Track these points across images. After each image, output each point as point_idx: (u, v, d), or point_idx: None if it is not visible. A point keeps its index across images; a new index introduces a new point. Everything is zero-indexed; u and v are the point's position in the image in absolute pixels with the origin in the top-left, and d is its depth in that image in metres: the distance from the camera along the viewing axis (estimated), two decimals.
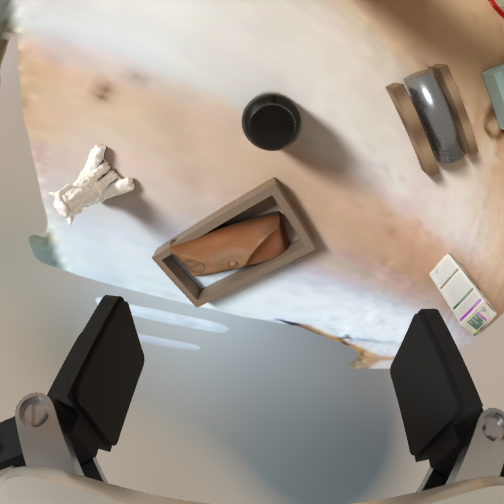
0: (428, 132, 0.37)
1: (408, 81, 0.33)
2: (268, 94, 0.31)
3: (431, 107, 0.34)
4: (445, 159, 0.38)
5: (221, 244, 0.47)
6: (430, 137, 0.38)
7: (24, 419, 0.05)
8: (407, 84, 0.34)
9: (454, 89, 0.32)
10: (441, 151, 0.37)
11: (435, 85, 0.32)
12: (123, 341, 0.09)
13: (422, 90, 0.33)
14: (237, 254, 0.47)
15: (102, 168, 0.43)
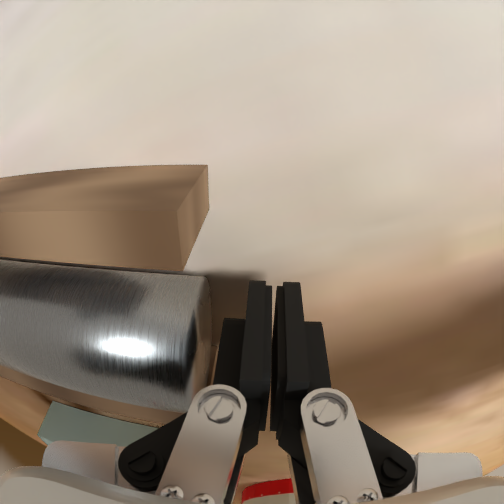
0: None
1: (181, 337, 0.08)
2: None
3: (61, 372, 0.08)
4: None
5: None
6: None
7: (202, 417, 0.06)
8: (169, 316, 0.09)
9: (122, 410, 0.11)
10: None
11: None
12: None
13: (126, 381, 0.08)
14: None
15: None
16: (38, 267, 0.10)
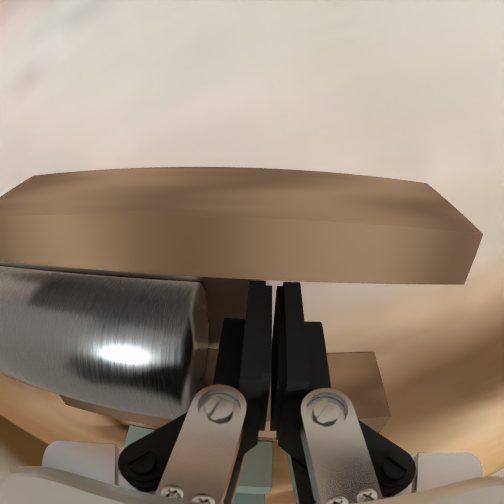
0: None
1: (176, 344, 0.08)
2: None
3: (56, 379, 0.08)
4: None
5: None
6: None
7: (202, 417, 0.06)
8: (163, 323, 0.08)
9: None
10: None
11: None
12: None
13: (121, 388, 0.08)
14: None
15: None
16: (32, 273, 0.10)
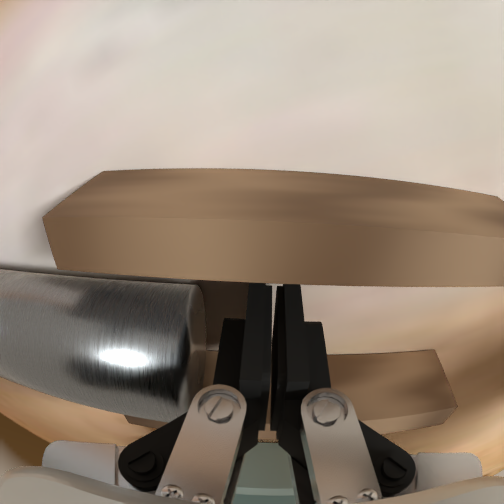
0: None
1: (172, 346, 0.08)
2: None
3: (53, 381, 0.08)
4: None
5: None
6: None
7: (202, 417, 0.06)
8: (159, 326, 0.08)
9: (375, 429, 0.11)
10: None
11: None
12: None
13: (118, 391, 0.08)
14: None
15: None
16: (30, 276, 0.10)
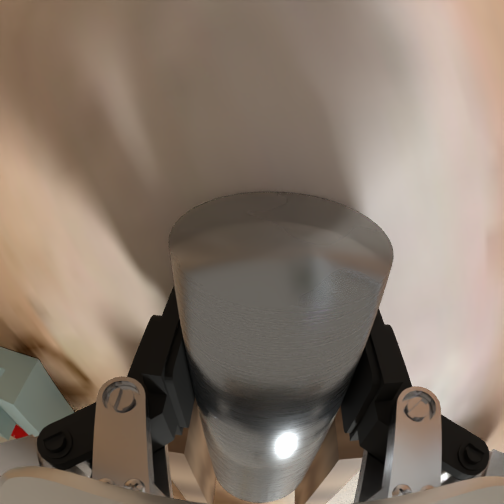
0: None
1: None
2: None
3: (295, 472, 0.09)
4: (378, 299, 0.06)
5: None
6: None
7: (107, 406, 0.06)
8: None
9: (193, 501, 0.16)
10: (368, 336, 0.07)
11: (245, 492, 0.11)
12: None
13: (293, 485, 0.11)
14: None
15: None
16: None
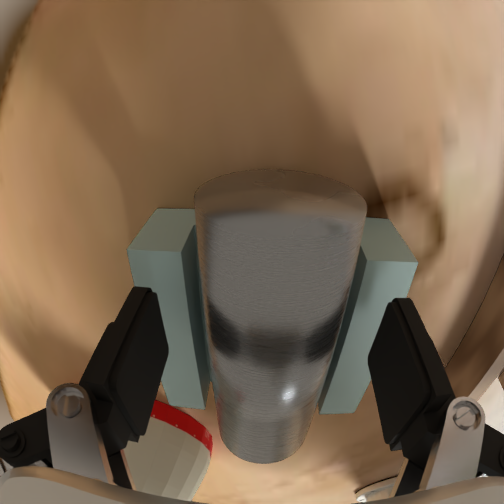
0: None
1: None
2: None
3: (296, 422, 0.11)
4: (356, 241, 0.08)
5: None
6: None
7: (55, 411, 0.06)
8: None
9: None
10: (351, 277, 0.09)
11: (250, 450, 0.13)
12: (152, 331, 0.09)
13: (294, 442, 0.13)
14: None
15: None
16: None
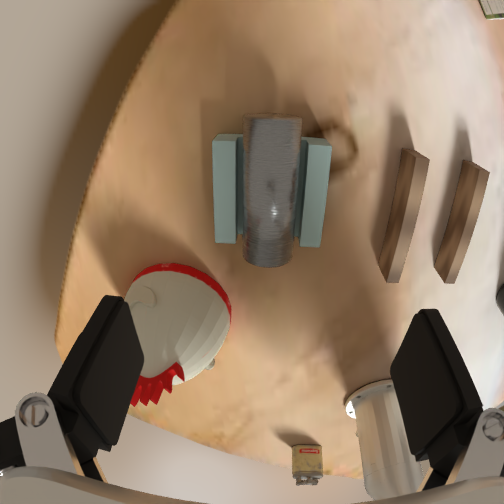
0: None
1: (291, 257, 0.30)
2: None
3: (283, 223, 0.27)
4: (296, 127, 0.23)
5: None
6: (299, 165, 0.26)
7: (24, 419, 0.05)
8: (292, 250, 0.30)
9: (399, 254, 0.31)
10: (297, 142, 0.24)
11: (260, 250, 0.28)
12: (123, 341, 0.09)
13: (283, 248, 0.28)
14: None
15: None
16: None
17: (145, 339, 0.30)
